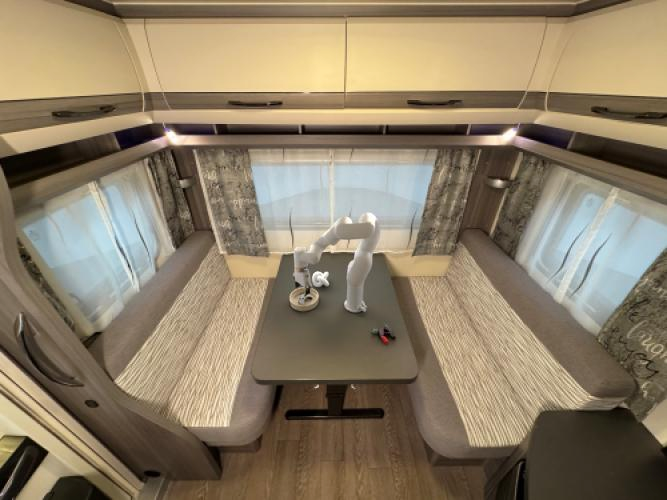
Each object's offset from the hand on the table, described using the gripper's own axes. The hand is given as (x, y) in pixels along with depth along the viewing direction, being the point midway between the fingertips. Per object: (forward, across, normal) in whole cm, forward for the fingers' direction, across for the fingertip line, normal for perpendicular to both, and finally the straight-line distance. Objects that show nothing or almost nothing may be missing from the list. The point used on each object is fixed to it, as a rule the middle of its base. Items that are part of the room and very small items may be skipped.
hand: (302, 290), depth 157 cm
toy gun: (+8, -53, -11) cm, 54 cm away
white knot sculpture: (+9, +4, -20) cm, 23 cm away
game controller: (+8, -1, 0) cm, 9 cm away
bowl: (+9, -1, 0) cm, 9 cm away
